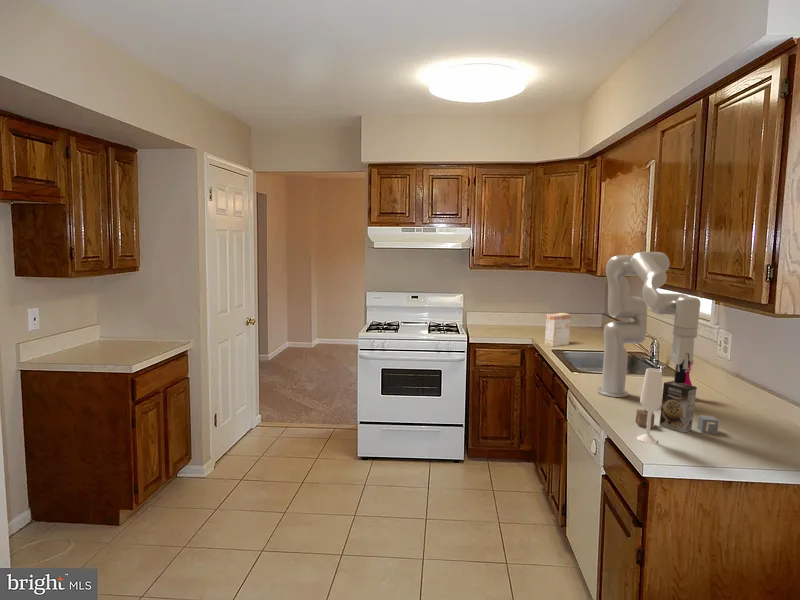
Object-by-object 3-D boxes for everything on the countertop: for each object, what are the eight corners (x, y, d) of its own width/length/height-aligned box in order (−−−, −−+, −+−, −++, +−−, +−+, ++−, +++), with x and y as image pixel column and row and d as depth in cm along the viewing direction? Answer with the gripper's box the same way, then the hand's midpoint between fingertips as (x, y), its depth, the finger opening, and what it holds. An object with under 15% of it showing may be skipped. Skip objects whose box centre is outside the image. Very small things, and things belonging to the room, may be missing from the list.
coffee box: (658, 425, 203) (662, 382, 201) (667, 422, 206) (672, 380, 204) (683, 433, 195) (688, 388, 193) (692, 430, 199) (697, 386, 197)
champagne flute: (635, 434, 192) (642, 366, 189) (656, 437, 190) (663, 368, 187) (637, 441, 186) (644, 371, 183) (659, 444, 184) (666, 373, 181)
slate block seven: (697, 428, 202) (698, 414, 201) (712, 429, 201) (713, 416, 200) (702, 433, 197) (703, 419, 196) (717, 434, 196) (719, 420, 195)
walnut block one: (635, 422, 206) (637, 406, 205) (650, 423, 205) (651, 407, 204) (638, 426, 201) (640, 410, 200) (653, 428, 200) (655, 411, 199)
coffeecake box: (560, 342, 356) (562, 312, 353) (569, 344, 350) (571, 314, 347) (543, 344, 348) (546, 313, 345) (552, 346, 342) (554, 315, 339)
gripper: (667, 327, 205) (662, 376, 207) (679, 335, 190) (674, 387, 193) (690, 329, 203) (684, 378, 206) (703, 336, 189) (697, 389, 191)
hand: (679, 382), depth 199 cm, fingers closed
